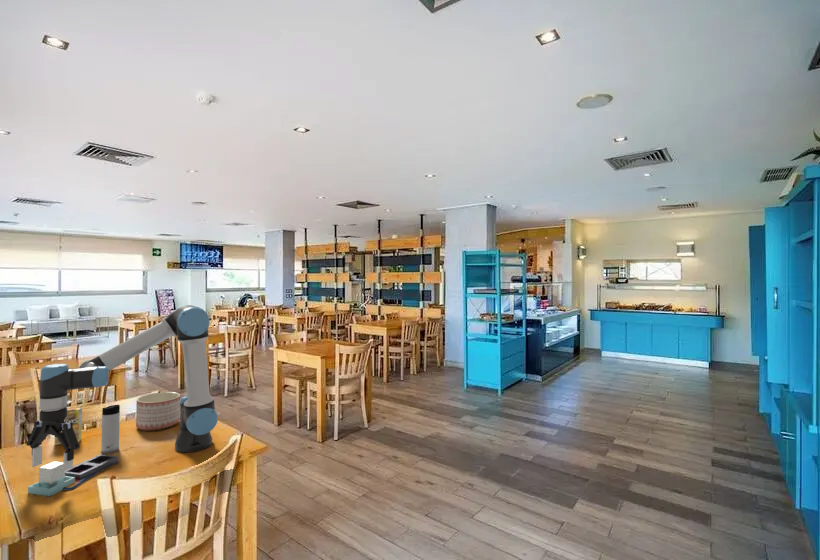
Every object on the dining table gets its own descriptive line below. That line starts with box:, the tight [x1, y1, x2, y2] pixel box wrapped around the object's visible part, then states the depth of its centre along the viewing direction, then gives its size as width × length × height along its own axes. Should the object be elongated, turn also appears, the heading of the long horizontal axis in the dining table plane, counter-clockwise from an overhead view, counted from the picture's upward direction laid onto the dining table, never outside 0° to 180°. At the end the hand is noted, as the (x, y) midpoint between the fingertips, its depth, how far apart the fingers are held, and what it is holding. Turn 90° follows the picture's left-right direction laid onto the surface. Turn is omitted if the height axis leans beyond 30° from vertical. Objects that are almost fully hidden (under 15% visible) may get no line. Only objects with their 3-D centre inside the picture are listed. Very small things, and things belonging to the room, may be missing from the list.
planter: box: [135, 391, 181, 432], centre depth 209 cm, size 19×19×15 cm
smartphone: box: [62, 470, 99, 491], centre depth 153 cm, size 7×15×1 cm, turn 2°
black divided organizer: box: [65, 453, 119, 480], centre depth 160 cm, size 9×16×2 cm, turn 169°
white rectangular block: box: [38, 460, 65, 489], centre depth 146 cm, size 5×5×8 cm
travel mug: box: [100, 404, 121, 455], centre depth 178 cm, size 6×7×20 cm
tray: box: [27, 476, 75, 498], centre depth 146 cm, size 9×9×2 cm
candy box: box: [54, 406, 83, 446], centre depth 186 cm, size 9×4×15 cm, turn 113°
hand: (52, 467), depth 146 cm, fingers open, 13 cm apart
